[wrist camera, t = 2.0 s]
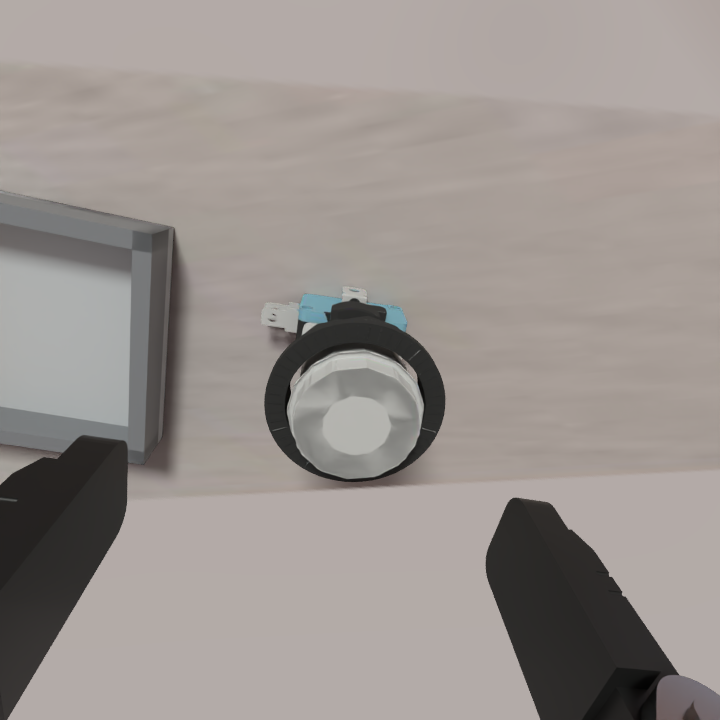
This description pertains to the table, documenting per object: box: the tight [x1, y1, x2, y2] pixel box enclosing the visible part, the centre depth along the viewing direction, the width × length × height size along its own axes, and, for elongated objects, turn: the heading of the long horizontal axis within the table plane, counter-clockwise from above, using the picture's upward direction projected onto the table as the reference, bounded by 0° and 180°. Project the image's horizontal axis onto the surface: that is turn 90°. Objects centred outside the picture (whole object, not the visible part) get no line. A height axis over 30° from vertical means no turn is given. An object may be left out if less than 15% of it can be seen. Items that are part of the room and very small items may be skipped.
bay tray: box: [0, 191, 174, 465], centre depth 20 cm, size 10×11×2 cm
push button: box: [261, 286, 445, 482], centre depth 17 cm, size 7×5×10 cm
